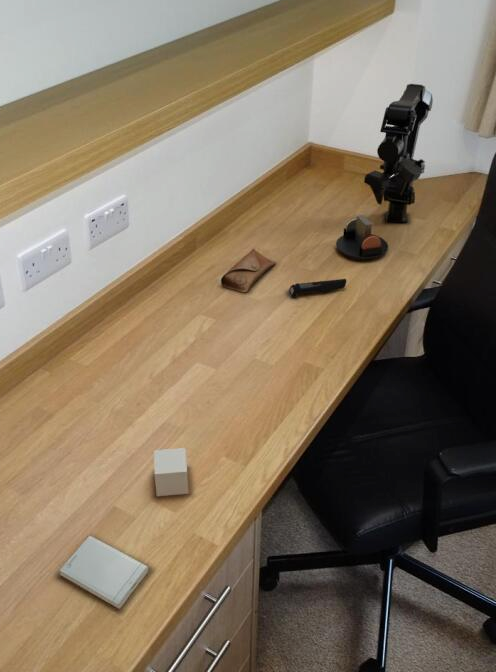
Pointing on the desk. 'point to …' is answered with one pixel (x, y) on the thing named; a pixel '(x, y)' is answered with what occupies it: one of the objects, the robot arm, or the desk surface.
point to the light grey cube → (170, 472)
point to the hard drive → (104, 571)
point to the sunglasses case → (246, 271)
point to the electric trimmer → (316, 287)
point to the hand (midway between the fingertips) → (389, 199)
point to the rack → (361, 240)
